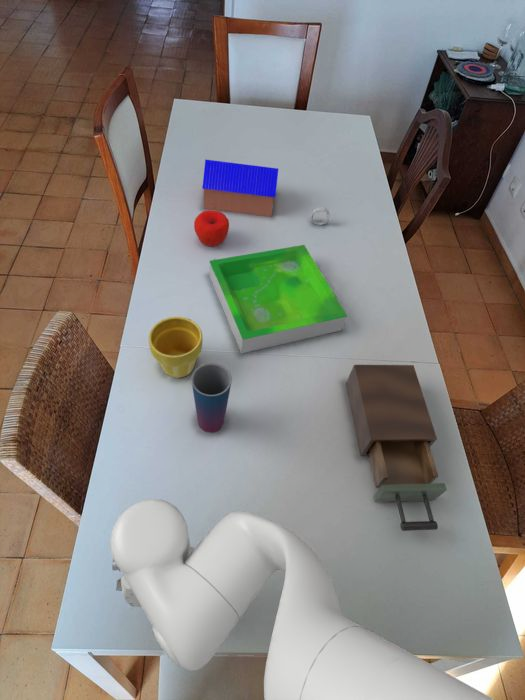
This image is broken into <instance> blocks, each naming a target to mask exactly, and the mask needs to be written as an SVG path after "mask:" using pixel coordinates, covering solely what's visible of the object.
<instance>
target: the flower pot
mask: <svg viewBox="0 0 525 700" xmlns="http://www.w3.org/2000/svg"><path fill="white" fill-rule="evenodd" d="M203 342H204V341H203V331H202V329H201V328H200V326H199V325H198V323H196V322H195V321H194V320H192V319H189V318H188V317H187V318H186V317H183V316H171V317H166V318H164V319H161V320H160V321H158V322H156V323H155V324H154V325H153V326H152V327H151V329H150V331H149V334H148V345H149V351H150V353H151V356H152V357H153V358H154V359H155V361H157V362H158V364H159V365H160V367H161V368H162V371H163V372H164V373H165V374H166V375H167V376H169V377H172V378H177V379H178V378H184V377H186V376H188V375H190V374H191V373H192V372H193V370H194V368H195V364H196V361H197V358H199V356H200V354H201V352H202V350H203Z"/></svg>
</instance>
